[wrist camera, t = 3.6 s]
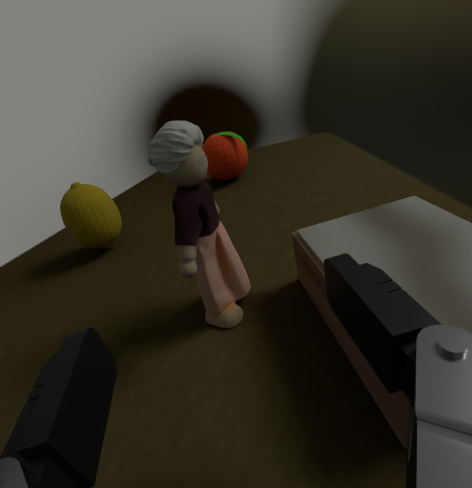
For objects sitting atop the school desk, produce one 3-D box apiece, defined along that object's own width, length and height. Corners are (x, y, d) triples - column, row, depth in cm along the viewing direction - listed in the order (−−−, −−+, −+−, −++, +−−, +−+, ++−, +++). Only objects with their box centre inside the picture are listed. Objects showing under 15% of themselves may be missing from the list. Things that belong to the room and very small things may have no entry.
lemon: (132, 249, 33) (100, 180, 29) (81, 268, 32) (40, 199, 28) (131, 230, 38) (102, 169, 34) (86, 246, 36) (51, 184, 32)
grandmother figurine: (259, 334, 19) (203, 123, 12) (200, 346, 19) (115, 146, 13) (248, 265, 25) (207, 104, 19) (204, 275, 26) (149, 120, 19)
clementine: (266, 170, 46) (257, 121, 42) (241, 189, 41) (229, 136, 38) (225, 170, 50) (214, 126, 47) (199, 187, 46) (184, 140, 42)
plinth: (405, 449, 12) (412, 385, 10) (298, 278, 22) (291, 229, 20) (609, 382, 12) (658, 306, 10) (411, 244, 23) (415, 193, 21)
